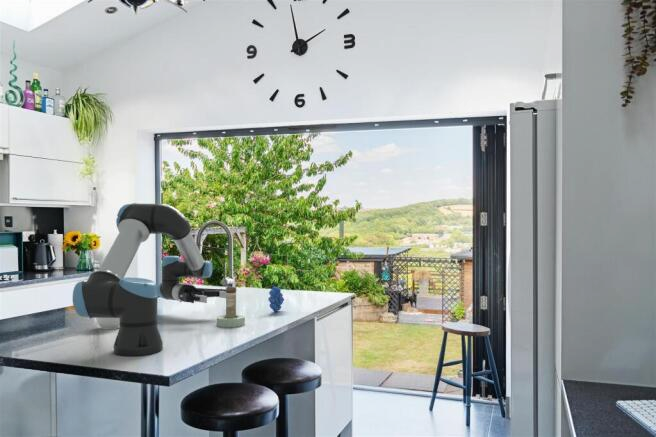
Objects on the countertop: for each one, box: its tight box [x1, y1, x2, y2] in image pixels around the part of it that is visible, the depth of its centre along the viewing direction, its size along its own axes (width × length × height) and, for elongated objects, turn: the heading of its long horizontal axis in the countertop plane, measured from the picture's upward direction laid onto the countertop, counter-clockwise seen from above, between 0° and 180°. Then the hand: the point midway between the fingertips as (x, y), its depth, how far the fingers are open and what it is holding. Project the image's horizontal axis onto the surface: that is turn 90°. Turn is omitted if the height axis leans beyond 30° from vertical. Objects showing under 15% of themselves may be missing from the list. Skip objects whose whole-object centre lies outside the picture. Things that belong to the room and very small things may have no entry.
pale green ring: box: [216, 314, 246, 328], centre depth 222 cm, size 11×11×3 cm
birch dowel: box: [225, 286, 237, 318], centre depth 222 cm, size 4×4×15 cm
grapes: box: [268, 285, 285, 313], centre depth 251 cm, size 12×7×12 cm, turn 159°
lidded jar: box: [95, 318, 120, 330], centre depth 214 cm, size 11×11×9 cm
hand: (218, 297), depth 227 cm, fingers open, 13 cm apart
